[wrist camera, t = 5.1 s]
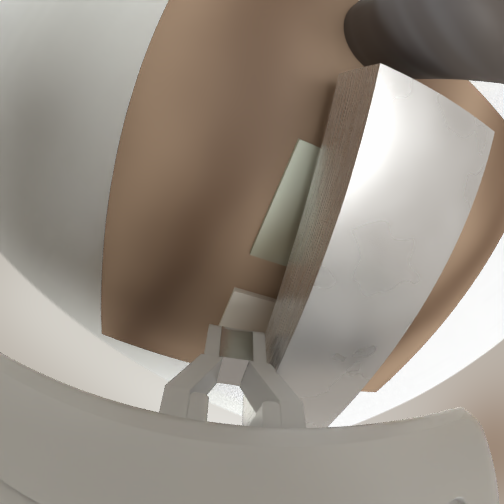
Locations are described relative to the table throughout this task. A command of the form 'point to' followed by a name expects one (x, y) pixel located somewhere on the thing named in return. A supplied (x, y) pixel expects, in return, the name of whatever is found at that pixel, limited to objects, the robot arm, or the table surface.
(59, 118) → the table surface
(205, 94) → the label board
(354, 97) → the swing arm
